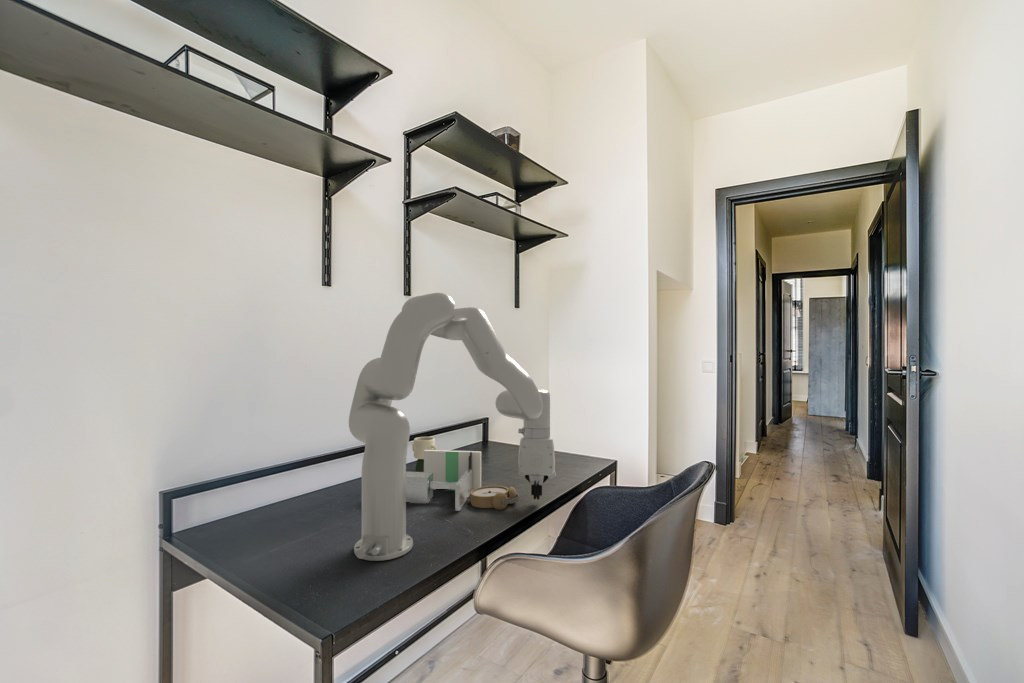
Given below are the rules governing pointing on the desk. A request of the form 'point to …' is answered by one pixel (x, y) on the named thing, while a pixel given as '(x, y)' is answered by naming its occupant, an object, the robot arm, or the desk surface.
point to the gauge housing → (418, 487)
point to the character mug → (422, 450)
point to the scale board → (453, 465)
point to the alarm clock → (493, 497)
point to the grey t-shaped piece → (457, 486)
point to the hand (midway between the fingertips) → (536, 497)
